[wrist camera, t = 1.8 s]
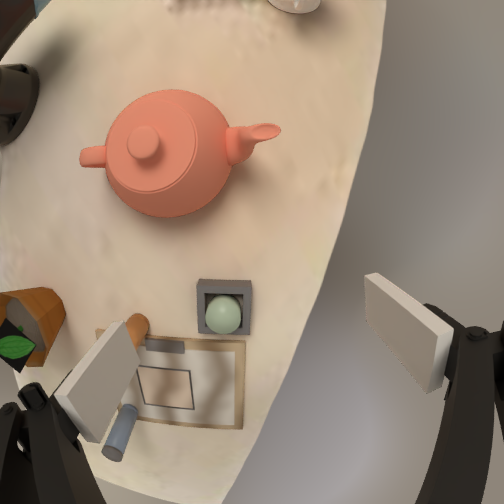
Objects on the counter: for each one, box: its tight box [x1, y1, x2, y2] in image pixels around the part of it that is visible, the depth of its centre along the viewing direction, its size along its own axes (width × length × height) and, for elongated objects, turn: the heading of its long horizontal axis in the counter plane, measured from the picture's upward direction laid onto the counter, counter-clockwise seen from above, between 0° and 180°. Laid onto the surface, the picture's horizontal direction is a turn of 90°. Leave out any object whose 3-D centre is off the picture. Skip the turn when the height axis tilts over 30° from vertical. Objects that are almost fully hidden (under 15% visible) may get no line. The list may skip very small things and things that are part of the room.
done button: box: [205, 294, 241, 334], centre depth 35 cm, size 4×4×3 cm
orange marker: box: [125, 314, 149, 351], centre depth 33 cm, size 4×4×12 cm
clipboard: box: [95, 329, 245, 429], centre depth 41 cm, size 24×20×1 cm
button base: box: [196, 279, 252, 335], centre depth 37 cm, size 7×7×2 cm
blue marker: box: [102, 404, 138, 462], centre depth 36 cm, size 4×4×12 cm
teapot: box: [79, 90, 281, 217], centre depth 28 cm, size 22×16×12 cm
